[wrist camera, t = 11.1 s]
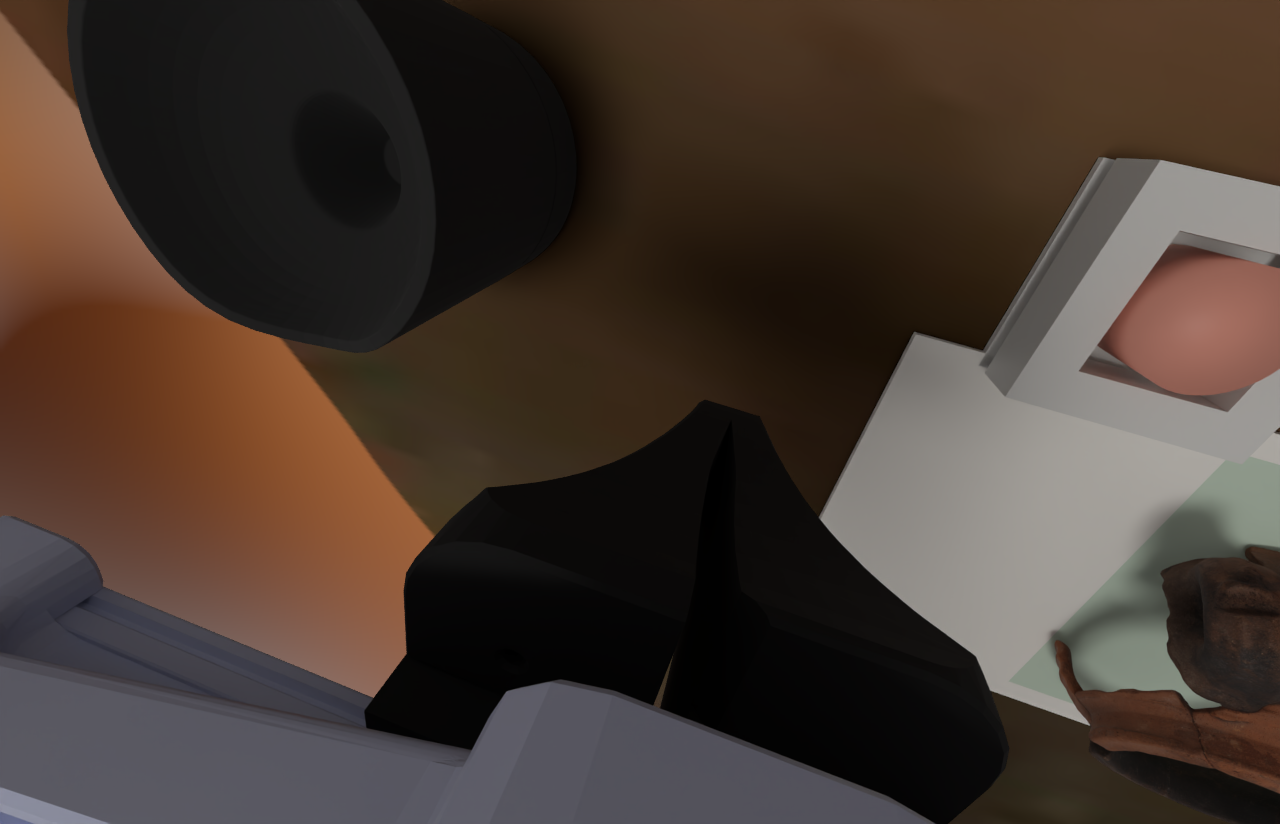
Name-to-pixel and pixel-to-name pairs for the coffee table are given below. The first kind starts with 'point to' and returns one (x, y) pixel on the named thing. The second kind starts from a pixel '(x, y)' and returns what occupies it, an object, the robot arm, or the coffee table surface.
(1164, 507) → the paper
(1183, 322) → the button
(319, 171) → the pen holder
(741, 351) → the coffee table surface
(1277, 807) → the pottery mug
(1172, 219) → the white square holder
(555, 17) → the coffee table surface
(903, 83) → the coffee table surface
